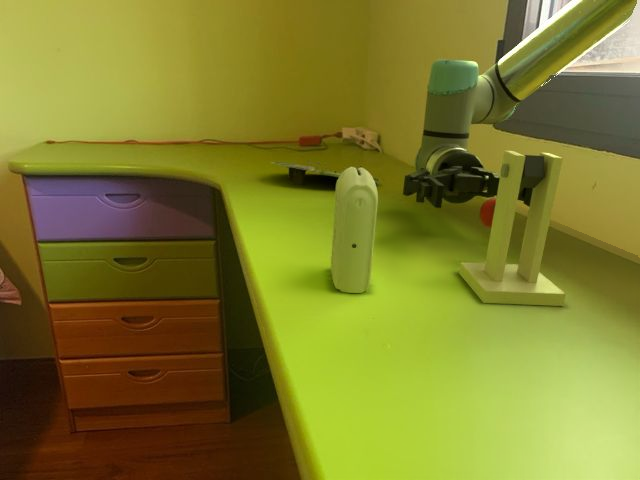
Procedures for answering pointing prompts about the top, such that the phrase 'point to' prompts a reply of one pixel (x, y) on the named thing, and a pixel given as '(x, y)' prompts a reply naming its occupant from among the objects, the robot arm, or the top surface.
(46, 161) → the top surface
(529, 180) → the switch lever
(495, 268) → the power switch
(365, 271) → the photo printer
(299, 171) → the city model
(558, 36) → the robot arm
